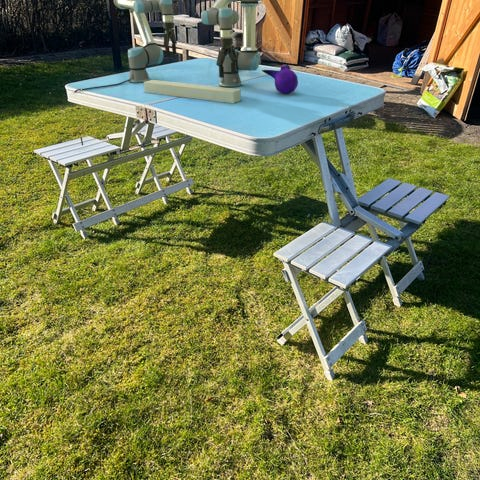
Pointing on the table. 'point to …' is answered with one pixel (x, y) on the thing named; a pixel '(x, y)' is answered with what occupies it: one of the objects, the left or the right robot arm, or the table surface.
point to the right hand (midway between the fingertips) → (227, 75)
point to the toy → (284, 79)
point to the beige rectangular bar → (193, 91)
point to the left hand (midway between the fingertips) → (171, 55)
